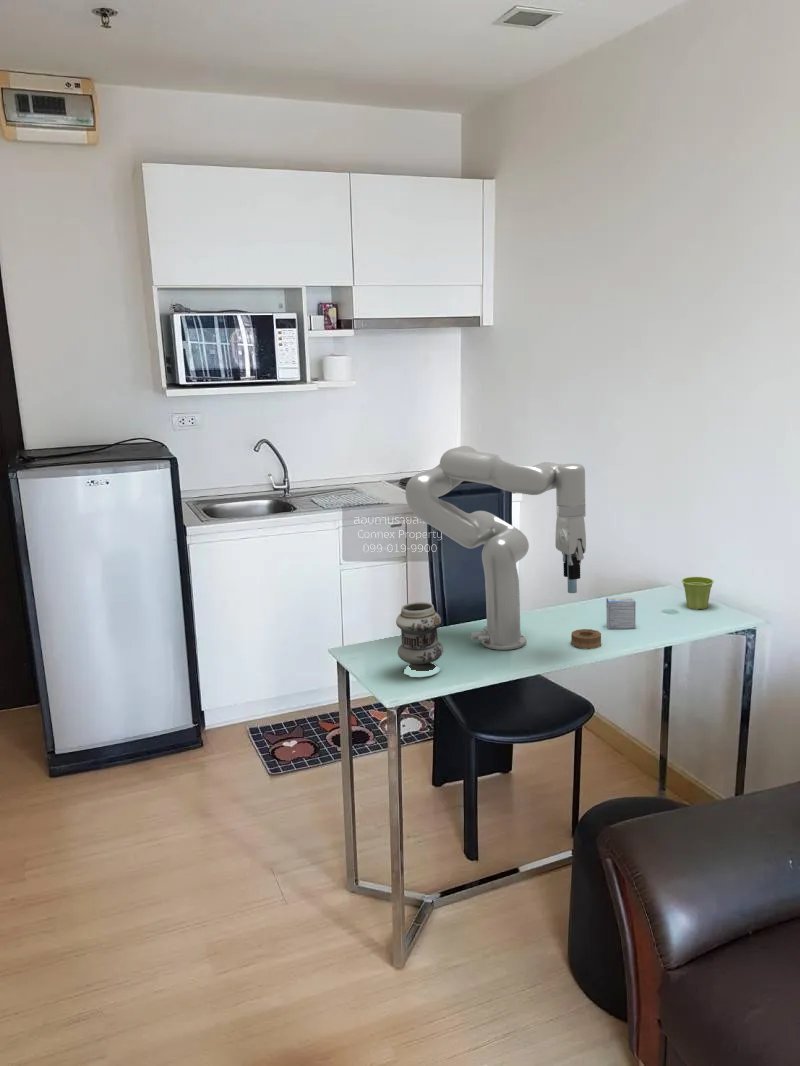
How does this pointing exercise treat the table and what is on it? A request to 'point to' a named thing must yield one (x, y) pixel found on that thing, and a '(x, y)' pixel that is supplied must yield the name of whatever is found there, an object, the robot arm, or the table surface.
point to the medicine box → (621, 612)
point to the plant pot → (697, 591)
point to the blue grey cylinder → (571, 583)
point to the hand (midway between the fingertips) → (571, 577)
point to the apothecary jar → (419, 635)
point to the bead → (586, 638)
